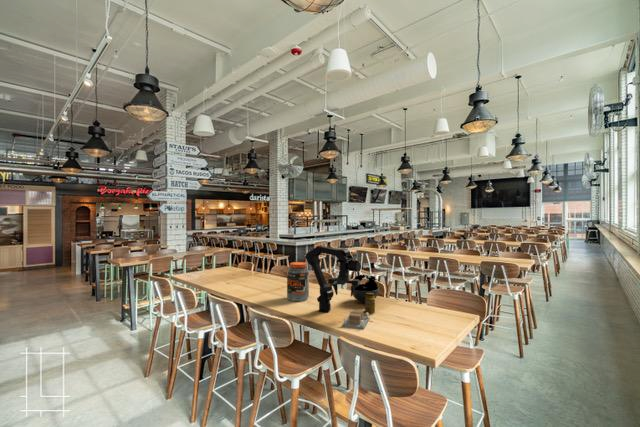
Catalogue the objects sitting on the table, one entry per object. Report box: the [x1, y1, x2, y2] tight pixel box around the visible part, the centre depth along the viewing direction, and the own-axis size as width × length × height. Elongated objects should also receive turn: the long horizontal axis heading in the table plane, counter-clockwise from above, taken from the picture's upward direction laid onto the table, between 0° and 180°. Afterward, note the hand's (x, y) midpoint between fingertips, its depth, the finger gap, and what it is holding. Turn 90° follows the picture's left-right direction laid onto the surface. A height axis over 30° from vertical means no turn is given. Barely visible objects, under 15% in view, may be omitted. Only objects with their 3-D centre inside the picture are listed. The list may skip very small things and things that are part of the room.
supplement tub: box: [286, 261, 310, 302], centre depth 215 cm, size 16×16×26 cm
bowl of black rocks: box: [352, 274, 380, 304], centre depth 208 cm, size 20×20×19 cm
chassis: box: [342, 310, 371, 330], centre depth 168 cm, size 16×12×4 cm
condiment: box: [362, 292, 378, 316], centre depth 185 cm, size 7×8×12 cm
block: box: [348, 309, 364, 325], centre depth 168 cm, size 10×6×4 cm, turn 160°
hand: (344, 295), depth 180 cm, fingers open, 9 cm apart
